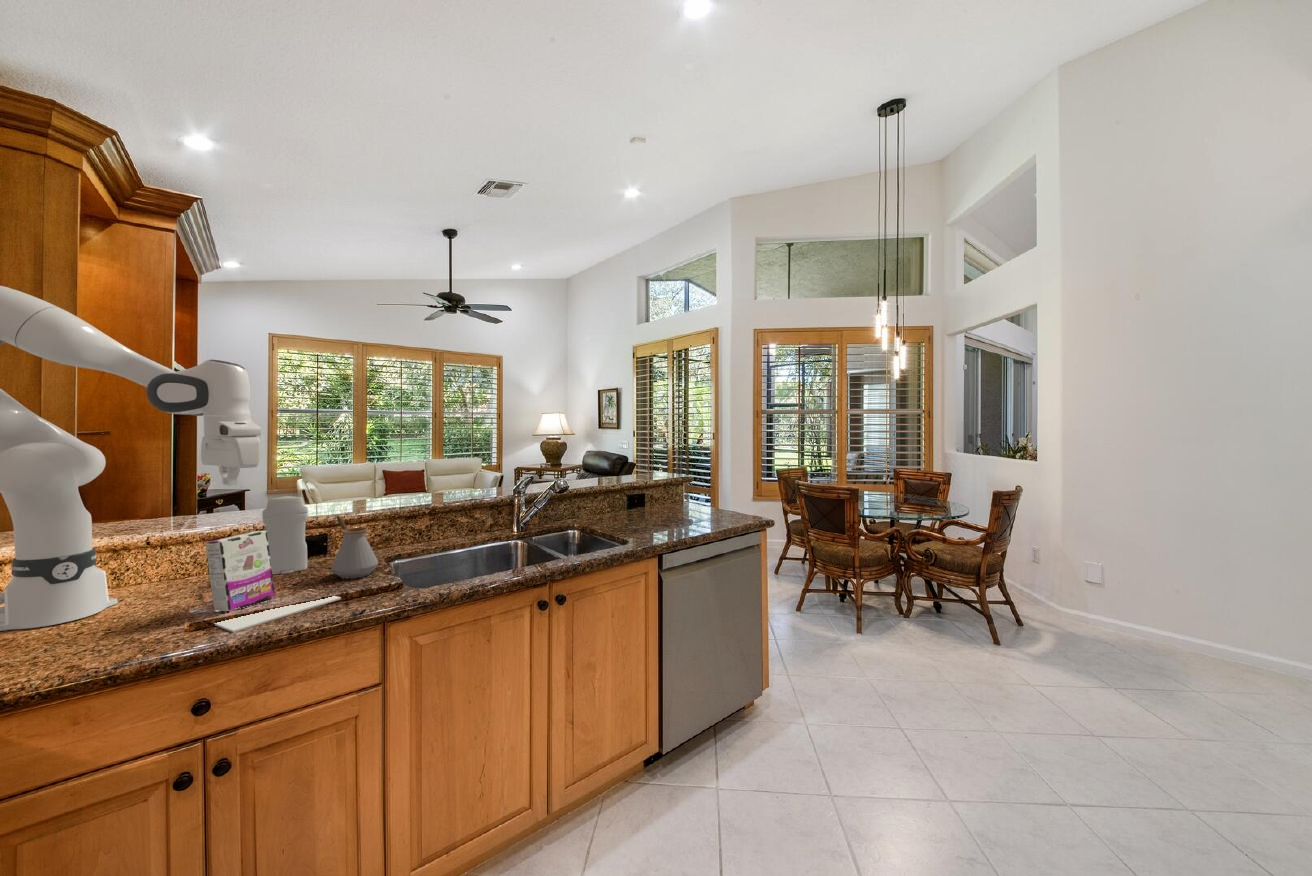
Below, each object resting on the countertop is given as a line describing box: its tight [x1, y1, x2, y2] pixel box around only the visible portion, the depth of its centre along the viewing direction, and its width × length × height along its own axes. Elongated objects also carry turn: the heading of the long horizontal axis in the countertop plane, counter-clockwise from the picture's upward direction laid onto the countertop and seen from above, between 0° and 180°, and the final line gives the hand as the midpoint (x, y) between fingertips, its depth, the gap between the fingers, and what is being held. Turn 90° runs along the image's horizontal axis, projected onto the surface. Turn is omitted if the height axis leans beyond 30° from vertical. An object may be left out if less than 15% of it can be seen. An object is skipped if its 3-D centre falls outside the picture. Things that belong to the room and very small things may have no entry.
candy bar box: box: [204, 530, 276, 611], centre depth 120 cm, size 11×5×16 cm, turn 168°
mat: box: [214, 588, 342, 633], centre depth 117 cm, size 13×22×1 cm, turn 153°
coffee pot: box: [330, 515, 379, 580], centre depth 147 cm, size 21×12×15 cm, turn 48°
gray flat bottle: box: [261, 495, 309, 576], centre depth 145 cm, size 11×4×22 cm, turn 130°
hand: (229, 484), depth 122 cm, fingers closed
